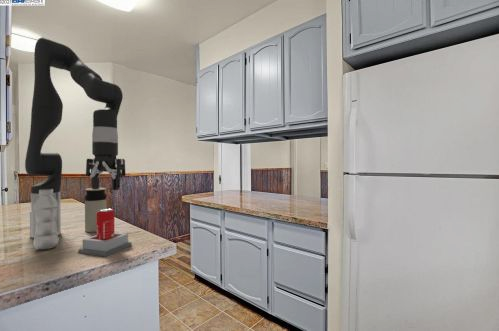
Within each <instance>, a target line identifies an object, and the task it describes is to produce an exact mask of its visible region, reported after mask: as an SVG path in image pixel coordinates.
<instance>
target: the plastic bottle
mask: <svg viewBox="0 0 499 331" xmlns="http://www.w3.org/2000/svg"><path fill="white" fill-rule="evenodd" d="M52 195H54V193H53V189H43V190H39V196H40V198H39V199H38V200H37V201H36V203H35V204H34V211H35V217H36V232H35V237H34V238H33V247H34V248H35V249H36V250H48V249H52V248H56V247H57V245H59V239H60V238H59V235H58V233H57V225H56V220H57V212H58V206H59V204H58V202H57V200H56V199H55V198H54V197H53V196H52Z"/></svg>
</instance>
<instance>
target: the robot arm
mask: <svg viewBox="0 0 499 331" xmlns="http://www.w3.org/2000/svg"><path fill="white" fill-rule="evenodd" d="M33 52H34V57H33V58H34V60H33V62H34V65H33V66H34V83H33V84H34V85H33V92H32V93H33V94H32V100H31V101H32V103H31V114H30V132H29V139H28V144H27V148H26V153H25V154H26V155H25V162H24V167H25V168H24V169H25V172H26V174H27V175H28V176H31V177H32V176H47V178H46V179H45V180H43V181H42V182H39V183H37V184H33V185H32V186H30V212H29V237H31V238H32V239H34V237H35V232H36V217H35V211H34V204H35V203H36V201H37V200H38V199H39V198H40V196H39V190H43V189H53V193H54V195H52V196H53V197H54V198H55V199H56V200H57V202H58V204H59V206H58V212H57V220H56V225H57V233H58V236H59V235H60V234H61V233H62V229H61V228H62V227H61V226H62V225H61V224H62V220H61V219H62V216H61V215H62V213H61V212H62V210H61V207H62V206H61V202H62V201H61V199H62V198H61V193H62V192H61V188H62V187H61V186H62V174H63V173H62V172H63V159H62V156H61V155H60V153H58V152H55V151H54V152H53V151H51V152H49V151H47V152H46V151H42V148H43V145H44V143H45V141H46V140H47V138H48V137H49V136H50V135H51V134H52V133H53V132H54V131H55V130H56V129H57V128H58V126H60V124H61V122H62V118H63V108H64V105H63V100H62V99H61V97H60V94H59V93H58V91H57V89H56V88H55V86H54V84H53V81H52V76H51V68H55V69H59V70H65V71H67V72H69V74H70V76H71V79H72V80H73V81H74V82H75V84H77V85H79V87H80V88H82V89H83V91H84V93H85V94H86V96H87V98H89V99H90V100H93V101H94V102H99V103H103V104H105V106H104V108H99V109H95V110H94V111H93V113H92V124H93V125H92V127H93V128H92V136H91V137H92V141H91V142H92V144H91V145H92V146H91V147H92V148H91V150H92V151H91V153H92V155H93V156H94V158H86V159H85V160H86V166H85V167H86V168H85V175H86V177H89V178H90V180H91V181H90V182H91V188H92V189H99V188H100V178H99V177H100V176H101V174H103V172H104V173H105V172H106V173H108V174H109V175H110V176H111V178H112V180H111V182H112V186H111V188H112V189H111V190H112V191H119V190H120V188H121V179H122V178H124V177H125V178H126V176H127V175H126V173H127V172H126V160H125V158H117V156H119V133H118V115H119V112H120V108H121V105H122V101H123V99H124V98H123V92H122V89H121V87H120V86H119V85H117V84H115V83H111V82H109V81H105V80H103V78H102V77H101V76H100V74H98V73H97V72H96V71H95V70H93V69H92V68H90V67H89V66H88V65H86V64H85V63H84V62H83V61H82V59H80V58H79V56H78V55H77V54H76V53H75V51H73V49H72V48H70V47H69V46H67V45H65V44H63V43H60V42H58V41H55V40H52V39H49V38H46V37H40V38H38V39H37V40H36V42H35V45H34V51H33Z"/></svg>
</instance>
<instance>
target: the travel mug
mask: <svg viewBox="0 0 499 331" xmlns="http://www.w3.org/2000/svg"><path fill="white" fill-rule="evenodd" d="M84 191H86V194H85V196H84V232H86V233H97V212H98V210H100V209H107V194H106V193H105V192H106V187H99V189H92V187H89V188H85V190H84Z"/></svg>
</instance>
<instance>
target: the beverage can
mask: <svg viewBox="0 0 499 331" xmlns="http://www.w3.org/2000/svg"><path fill="white" fill-rule="evenodd" d="M114 233H115V210H114V208H106V209H100V210H98V212H97V232H96V235H97V240H109V239H111V238H114Z"/></svg>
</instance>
